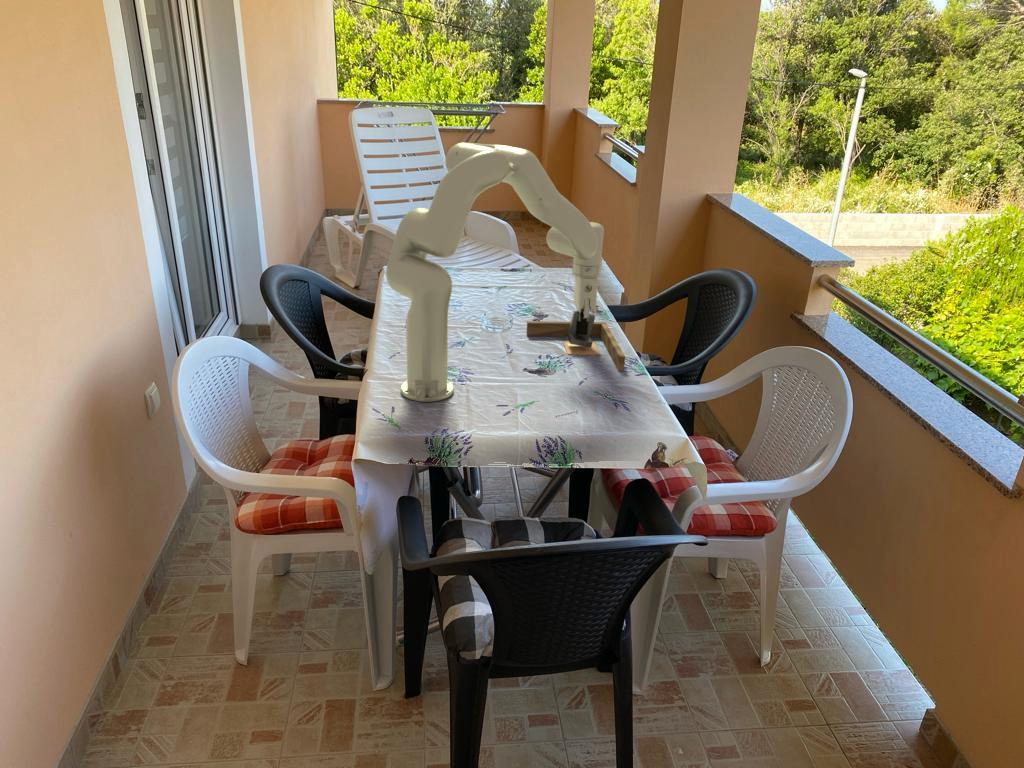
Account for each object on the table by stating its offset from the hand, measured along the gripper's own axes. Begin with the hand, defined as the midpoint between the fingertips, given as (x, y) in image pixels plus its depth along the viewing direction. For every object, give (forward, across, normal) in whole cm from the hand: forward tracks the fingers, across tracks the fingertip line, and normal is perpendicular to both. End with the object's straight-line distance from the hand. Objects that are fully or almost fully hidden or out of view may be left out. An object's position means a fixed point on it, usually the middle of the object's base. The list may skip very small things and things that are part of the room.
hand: (580, 332), depth 207 cm
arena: (+4, -4, +3) cm, 7 cm away
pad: (+4, -2, 0) cm, 5 cm away
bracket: (+2, -2, +1) cm, 3 cm away
